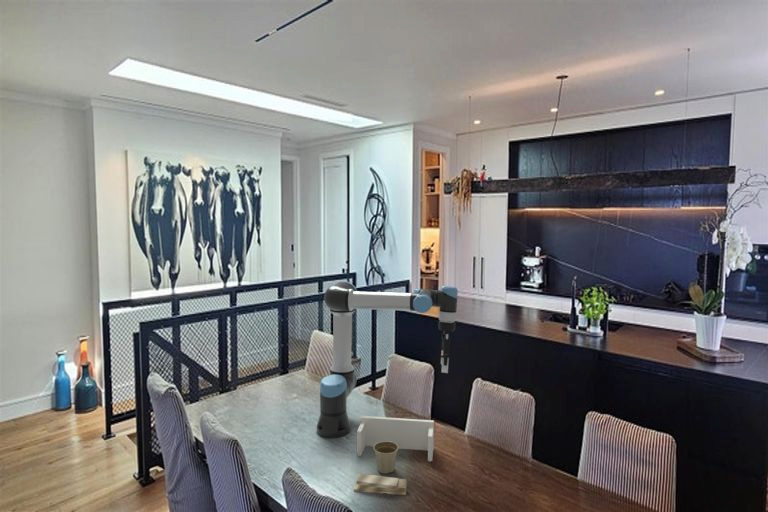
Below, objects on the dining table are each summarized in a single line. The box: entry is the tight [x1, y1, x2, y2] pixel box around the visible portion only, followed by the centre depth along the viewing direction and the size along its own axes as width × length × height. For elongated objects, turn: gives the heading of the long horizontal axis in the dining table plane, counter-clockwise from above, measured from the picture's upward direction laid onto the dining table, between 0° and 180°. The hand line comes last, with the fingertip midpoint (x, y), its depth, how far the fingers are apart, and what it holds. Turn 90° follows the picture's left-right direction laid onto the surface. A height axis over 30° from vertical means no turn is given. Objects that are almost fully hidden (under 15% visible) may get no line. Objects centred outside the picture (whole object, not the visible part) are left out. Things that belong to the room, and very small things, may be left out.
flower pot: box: [372, 441, 400, 474], centre depth 168 cm, size 9×9×9 cm
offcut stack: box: [353, 473, 408, 496], centre depth 156 cm, size 18×7×4 cm, turn 82°
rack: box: [356, 415, 435, 462], centre depth 180 cm, size 30×10×12 cm, turn 81°
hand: (444, 368), depth 200 cm, fingers open, 13 cm apart
